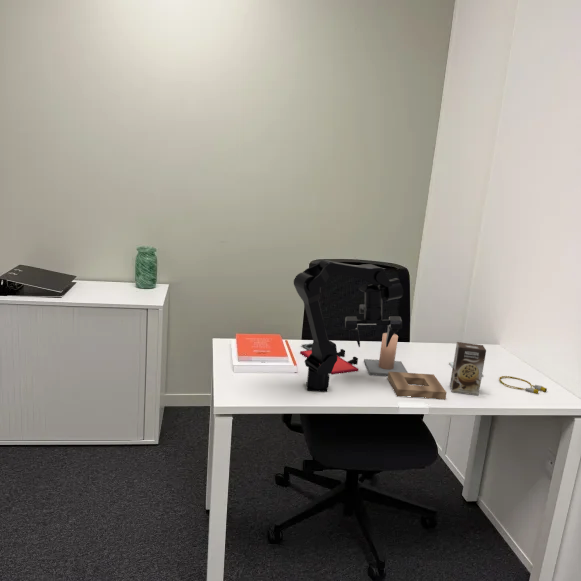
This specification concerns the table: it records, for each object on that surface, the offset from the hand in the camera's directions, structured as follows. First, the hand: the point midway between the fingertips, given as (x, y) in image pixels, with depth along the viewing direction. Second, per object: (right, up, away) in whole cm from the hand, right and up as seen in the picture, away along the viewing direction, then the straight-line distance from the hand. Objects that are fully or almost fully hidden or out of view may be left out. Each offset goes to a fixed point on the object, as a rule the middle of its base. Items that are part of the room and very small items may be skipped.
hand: (372, 346), depth 209 cm
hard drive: (+37, -12, +22) cm, 45 cm away
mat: (+7, -10, +16) cm, 20 cm away
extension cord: (+54, -15, +11) cm, 57 cm away
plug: (+7, -9, +15) cm, 19 cm away
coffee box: (+31, -15, +1) cm, 35 cm away
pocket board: (+14, -14, -1) cm, 20 cm away
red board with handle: (-14, -7, +22) cm, 28 cm away
